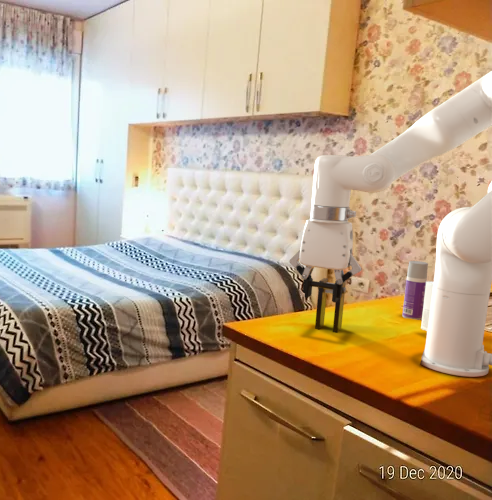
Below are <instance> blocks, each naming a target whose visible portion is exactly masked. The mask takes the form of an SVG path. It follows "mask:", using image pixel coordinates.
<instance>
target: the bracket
mask: <svg viewBox="0 0 492 500" xmlns="http://www.w3.org/2000/svg"><path fill="white" fill-rule="evenodd" d="M318 282H323V283H327V282H328V283H329V278H328V277H327V278H326V277H323V278H322V279H320V280H319V281H318ZM346 283H347V280H346V281H345V282H343V286H342V296H341V298H339V299H338V301H337V302H336V303H335V302H334V303H335V304H334V315H333V324H332V333H335V334H338V333H339V332H340V330H341V329H342V325H343V315H344V305H345V295H346V293H347V287H346ZM327 294H328V293H325V289H324V288H319V287H317V301H316V315H315V325H314V329H315V330H321V329H322V328H323V327H324V325H325V318H326V317H325V316H326V307H327V306H326V305H327Z"/></svg>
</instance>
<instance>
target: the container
mask: <svg viewBox="0 0 492 500" xmlns="http://www.w3.org/2000/svg"><path fill="white" fill-rule="evenodd" d="M428 267H429V263H428V262H426V261H420V260H409V261H408V266H407V273H406V279H405V289H404V298H403V305H402V306H403V308H402V315H401V316H402V317H403V318H404V319H410V320H416V321H422V314H423V305H424V296H425V287H426V282H427V281H428V280H427V279H428Z"/></svg>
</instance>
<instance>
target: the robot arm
mask: <svg viewBox="0 0 492 500" xmlns="http://www.w3.org/2000/svg"><path fill="white" fill-rule="evenodd" d="M491 127H492V70H490V71H488V72H487V73H486V74H484V75H483V76H482V77H480V78H479V79H477V80H475V81H474V82H472V83H471V84H470V85H468V86H466V87H464V88H463V89H461V90H460V91H459V92H457V93H456V94H454V95H453V96H450V98H448V99H447V100H445V101H444V102H442V103H440V104H438V105H437V106H436V107H434V108H433V109H431V110H430V111H428V112H427V113H425V114H424V115H423V116H421V117H420V118H419V119H418V120H417V121H415V123H413V124H412V125H411V126H410V127H408V128H407V129H406V130H405V131H403V132H402V133H400V134H398V135H397V136H396V137H395V138H393V139H392V140H390V141H389V142H387V143H385V144H384V145H383V146H381V147H380V148H378V149H377V150H374V152H372V153H370V154H366V155H358V156H357V155H356V156H355V155H354V156H348V155H343V154H322V155H319V156H317V158H316V159H315V161H314V170H313V180H312V193H311V203H310V215H309V217H310V218H309V219H307V220H306V221H305V225H304V229H303V232H302V237H301V243H300V249H299V250H298V251H297V252H296V253H295V254H294V255H293V256H292V257H291V258H290V259H289V264H290V265H291V266H292V267H293V268H294V269H296V272H298V273H299V275H300V276H301V278H302V280H303V281H302V282H303V283H302V293H303V294H304V298H305V299H308V298H310V297H311V296H312V294H313V287H312V286H310V282H311V281H314V278H313V277H312V274H313V271H314V269H315V268H318V269H325V270H331V271H332V270H333V273H334V277H335V280H334V281H335V282H334V283H335V284H334V285H333V294H331V295H332V296H331V302H332V303H336V302H337V301H338V299H339V298H341V296H342V286H343V282H345V281H346V282H347V281H348V279H351V278H352V277H354V276H355V275H357V274H359V273H360V272H362V270H363V269H362V266H361V265H360V264H359V261H357V259H356V258H355V256H354V255H353V250H354V249H353V248H354V231H353V223H352V222H351V221H350V222H349V219H352V218H356V217H357V211H356V210H353V209H351V207H350V202H351V195H352V194H351V193H352V191H358V192H364V193H369V194H377V193H380V192H383V191H385V190H387V189H388V188H389V187H390V186H391V185H392V184H393V182H395V181H397V180H398V179H399V178H401V177H403V176H404V175H406V174H407V173H409V172H410V171H412V170H414V169H416V168H418V167H419V166H421V165H422V164H425V163H426V162H428V161H430V160H433V159H435V158H438V157H440V156H443V155H445V154H447V153H449V152H451V151H453V150H454V149H456V148H458V147H459V146H461V145H463V144H464V143H466V142H468V141H469V140H470V139H471V140H472V138H474V137H476V136H477V135H479V134H480V133H482V132H483V131H485V130H487V129H488V128H491ZM435 247H436V250H435V251H436V252H435V267H434V274H433V281H434V283H433V289H432V297H431V305H430V313H429V321H428V329H427V331H426V338H425V345H424V349H423V352H422V355H421V359H420V362H419V364H420V365H421V366H423V367H425V368H428V369H430V370H433V371H436V372H439V373H444V374H447V375H451V376H452V375H453V376H457V377H458V376H459V377H467V378H468V377H469V378H478V377H483V376H486V375H487V374H489V371H490V370H489V369H490V366H492V353H489V352H488V351H486V350H485V345H484V336H485V330H486V329H485V328H486V323H487V316H488V309H489V302H490V294H491V290H492V180H491V181H490V183H489V185H488V188H487V193H486V194H485V195H484V196H483V197H482V198H480V199H479V200H478V201H477V202H476V203H475V204H473V206H464V207H459V208H456V209H453V210H452V211H450V212H449V213H448V214H447V215H445V216H444V218H443V219H442V220H441V221H440V223H439V226H438V229H437V234H436V245H435ZM349 267H351V269H350V270H348V271H347V272H344V271H345V270H347V269H348V268H349Z"/></svg>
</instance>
